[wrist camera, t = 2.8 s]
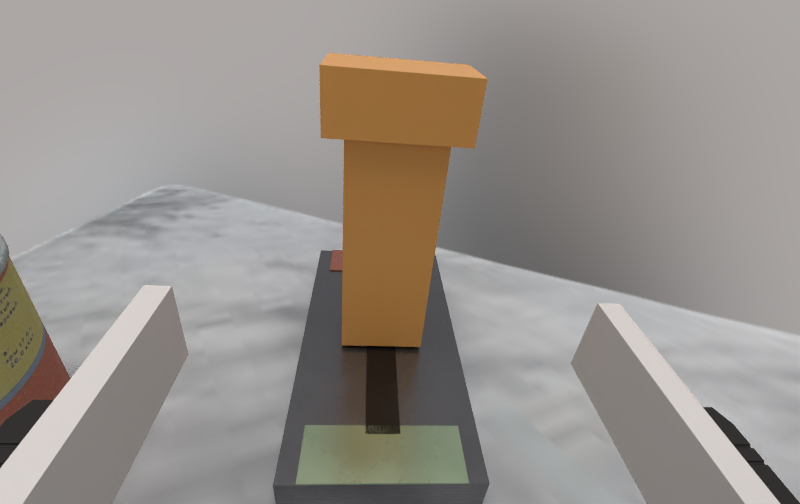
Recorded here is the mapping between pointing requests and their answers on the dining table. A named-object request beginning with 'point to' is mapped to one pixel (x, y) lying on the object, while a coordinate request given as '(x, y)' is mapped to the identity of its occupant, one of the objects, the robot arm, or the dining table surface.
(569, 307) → the dining table surface
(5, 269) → the canned food
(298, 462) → the switch plate
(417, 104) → the handle
